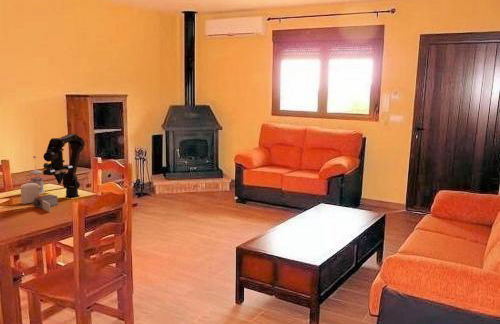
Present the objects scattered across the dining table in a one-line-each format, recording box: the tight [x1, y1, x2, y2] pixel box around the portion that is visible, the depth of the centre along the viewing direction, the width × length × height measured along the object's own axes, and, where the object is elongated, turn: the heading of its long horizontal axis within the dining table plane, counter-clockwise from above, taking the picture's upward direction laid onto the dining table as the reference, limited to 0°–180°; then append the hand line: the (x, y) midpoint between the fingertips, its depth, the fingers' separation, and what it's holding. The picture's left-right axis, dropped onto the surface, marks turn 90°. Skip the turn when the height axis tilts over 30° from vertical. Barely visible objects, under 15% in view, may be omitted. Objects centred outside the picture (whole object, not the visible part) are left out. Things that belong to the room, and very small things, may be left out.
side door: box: [42, 200, 51, 213], centre depth 249 cm, size 10×2×5 cm, turn 45°
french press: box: [25, 155, 46, 195], centre depth 289 cm, size 10×12×25 cm
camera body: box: [32, 194, 59, 210], centre depth 259 cm, size 12×8×6 cm
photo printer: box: [20, 182, 41, 205], centre depth 265 cm, size 10×4×12 cm, turn 123°
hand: (59, 183), depth 265 cm, fingers closed
